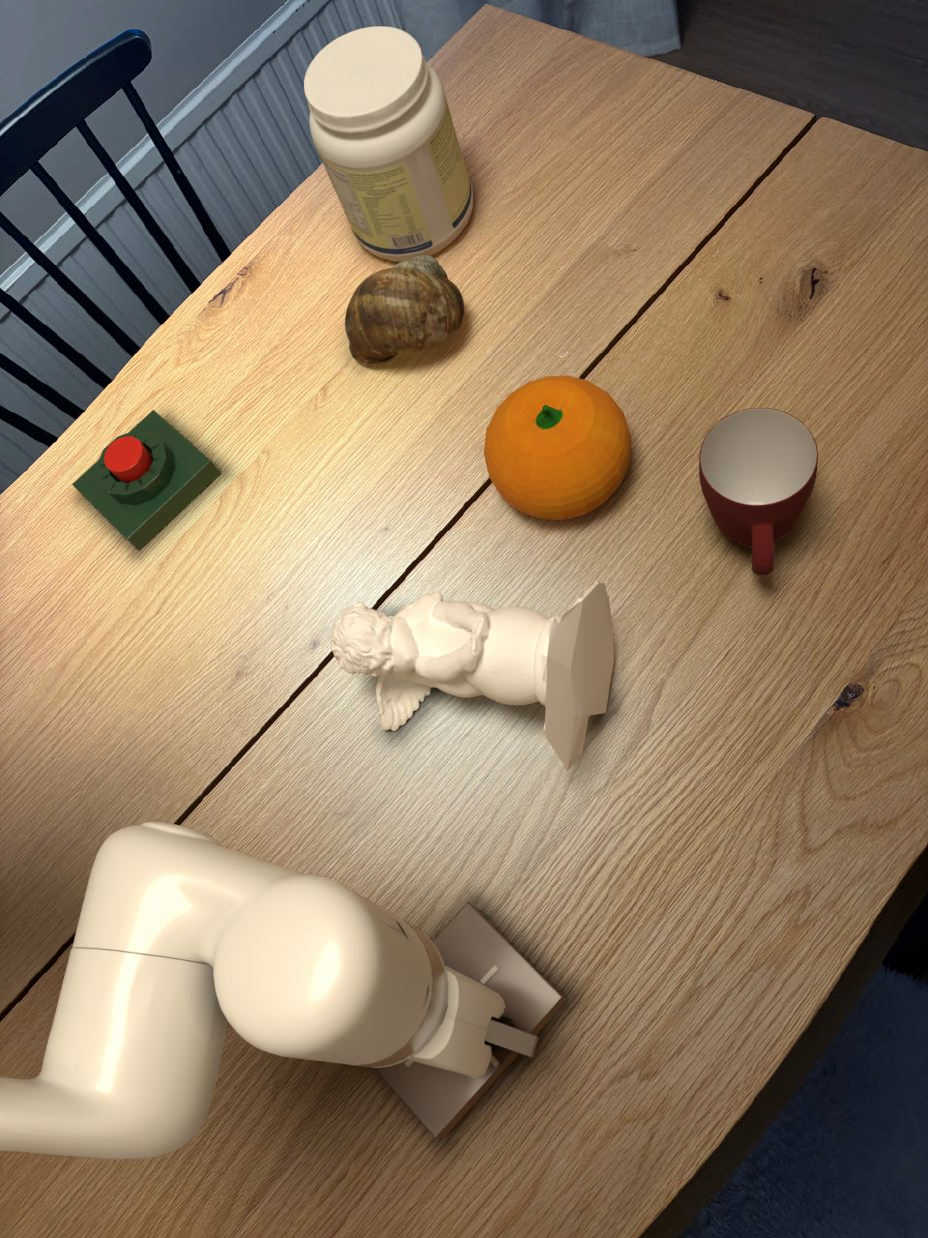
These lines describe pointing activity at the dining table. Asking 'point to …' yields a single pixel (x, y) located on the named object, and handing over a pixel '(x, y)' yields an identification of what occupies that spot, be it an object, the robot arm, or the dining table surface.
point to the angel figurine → (486, 658)
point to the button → (127, 459)
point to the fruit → (557, 447)
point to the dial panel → (528, 1003)
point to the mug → (758, 478)
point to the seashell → (403, 311)
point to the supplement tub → (388, 143)
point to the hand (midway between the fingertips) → (450, 1015)
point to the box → (149, 482)
